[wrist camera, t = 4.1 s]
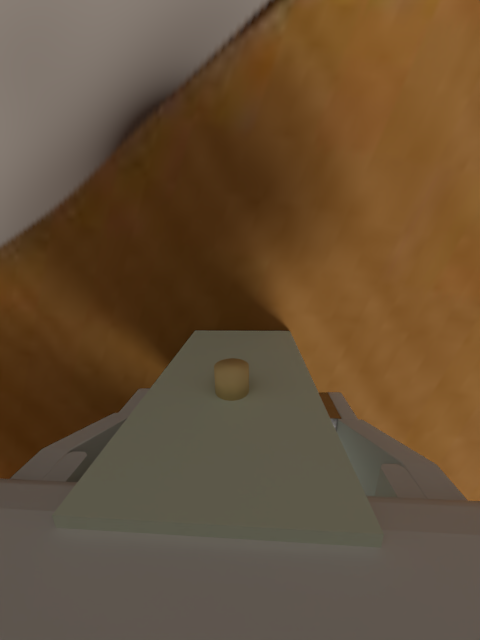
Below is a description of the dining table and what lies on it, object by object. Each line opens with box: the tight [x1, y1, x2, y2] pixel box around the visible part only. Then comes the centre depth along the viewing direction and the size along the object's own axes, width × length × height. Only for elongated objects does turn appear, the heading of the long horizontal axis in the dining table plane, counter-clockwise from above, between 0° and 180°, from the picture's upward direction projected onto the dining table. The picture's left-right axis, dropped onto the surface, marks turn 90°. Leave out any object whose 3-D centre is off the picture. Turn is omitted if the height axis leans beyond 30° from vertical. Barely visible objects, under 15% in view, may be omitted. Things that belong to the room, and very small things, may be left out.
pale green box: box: [52, 330, 384, 548], centre depth 8 cm, size 5×7×9 cm
